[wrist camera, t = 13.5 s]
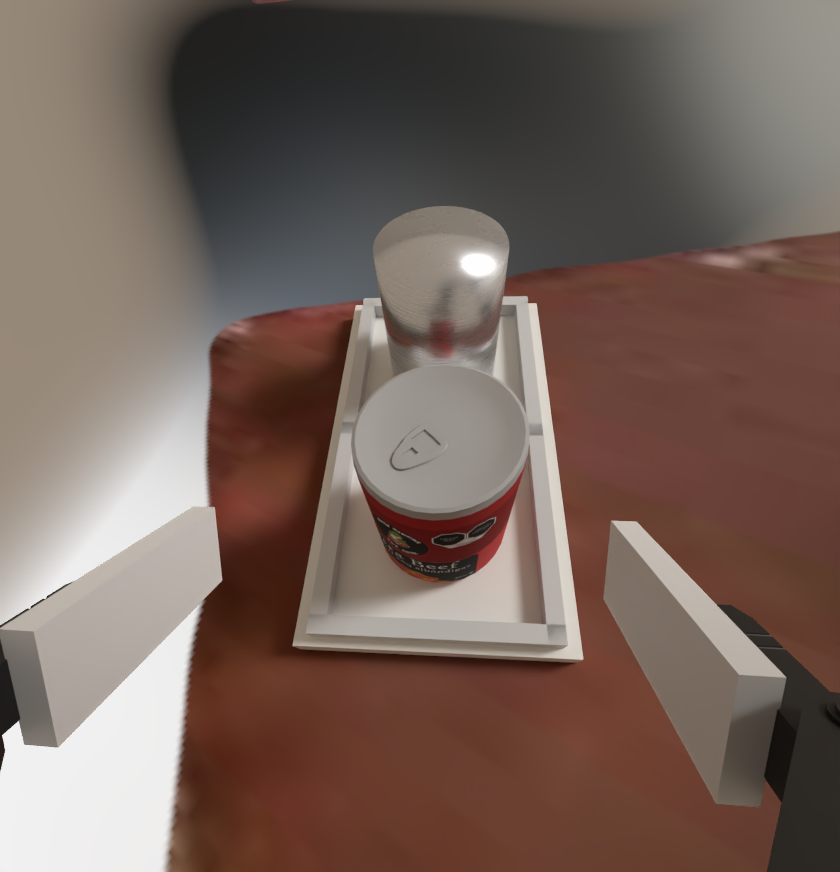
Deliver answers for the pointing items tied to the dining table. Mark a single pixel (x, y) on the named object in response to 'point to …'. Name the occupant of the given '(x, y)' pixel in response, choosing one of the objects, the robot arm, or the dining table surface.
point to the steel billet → (441, 287)
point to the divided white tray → (448, 601)
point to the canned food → (441, 467)
